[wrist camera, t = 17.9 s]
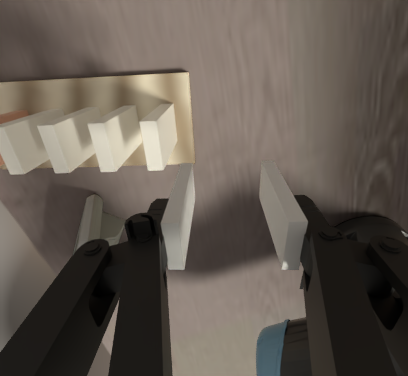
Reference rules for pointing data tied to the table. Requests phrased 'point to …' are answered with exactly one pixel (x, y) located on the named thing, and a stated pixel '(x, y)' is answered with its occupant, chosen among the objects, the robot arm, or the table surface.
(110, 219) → the digital clock
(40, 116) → the domino
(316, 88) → the table surface
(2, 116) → the domino
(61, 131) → the domino
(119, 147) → the domino
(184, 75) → the board
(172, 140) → the domino
